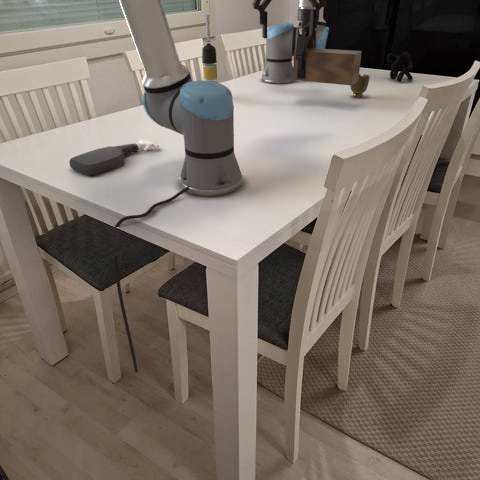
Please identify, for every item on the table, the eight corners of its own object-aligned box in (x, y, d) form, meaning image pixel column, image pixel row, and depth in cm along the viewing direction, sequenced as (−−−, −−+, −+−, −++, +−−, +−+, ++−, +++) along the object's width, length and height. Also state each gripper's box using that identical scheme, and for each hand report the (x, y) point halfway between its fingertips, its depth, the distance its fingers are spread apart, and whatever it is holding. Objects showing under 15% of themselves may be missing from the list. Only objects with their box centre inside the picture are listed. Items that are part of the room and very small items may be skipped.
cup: (345, 97, 176) (348, 76, 172) (351, 93, 181) (353, 73, 177) (364, 99, 173) (367, 78, 169) (369, 95, 178) (372, 74, 174)
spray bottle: (67, 168, 120) (139, 144, 136) (91, 178, 114) (163, 151, 130) (65, 157, 118) (137, 134, 134) (89, 167, 112) (162, 142, 128)
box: (358, 81, 162) (361, 51, 156) (351, 85, 156) (354, 54, 151) (300, 76, 172) (302, 47, 167) (292, 79, 166) (293, 50, 161)
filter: (220, 99, 177) (217, 15, 161) (206, 100, 176) (202, 16, 160) (215, 96, 182) (212, 14, 166) (202, 97, 180) (197, 14, 164)
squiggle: (400, 92, 202) (376, 71, 205) (417, 76, 202) (392, 56, 205) (405, 81, 191) (380, 59, 194) (423, 64, 191) (397, 42, 194)
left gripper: (333, -55, 118) (326, 32, 129) (240, -54, 115) (242, 36, 126) (343, -56, 112) (335, 36, 123) (246, -55, 108) (247, 40, 120)
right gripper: (309, 5, 165) (305, 70, 176) (287, 9, 149) (284, 80, 161) (328, 5, 161) (323, 72, 173) (308, 10, 146) (304, 82, 158)
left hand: (288, 36), depth 124 cm, fingers open, 13 cm apart
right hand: (304, 76), depth 167 cm, fingers closed on box, 7 cm apart
